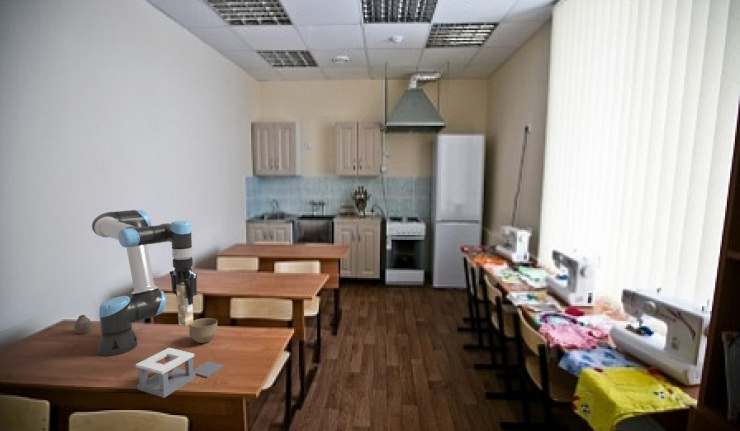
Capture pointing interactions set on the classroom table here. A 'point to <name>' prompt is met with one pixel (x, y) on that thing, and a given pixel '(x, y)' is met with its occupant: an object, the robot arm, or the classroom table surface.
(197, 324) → the bowl
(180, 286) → the light wooden bar
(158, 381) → the grey open box frame
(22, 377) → the classroom table surface
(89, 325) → the brown rounded lump
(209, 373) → the pad
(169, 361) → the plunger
